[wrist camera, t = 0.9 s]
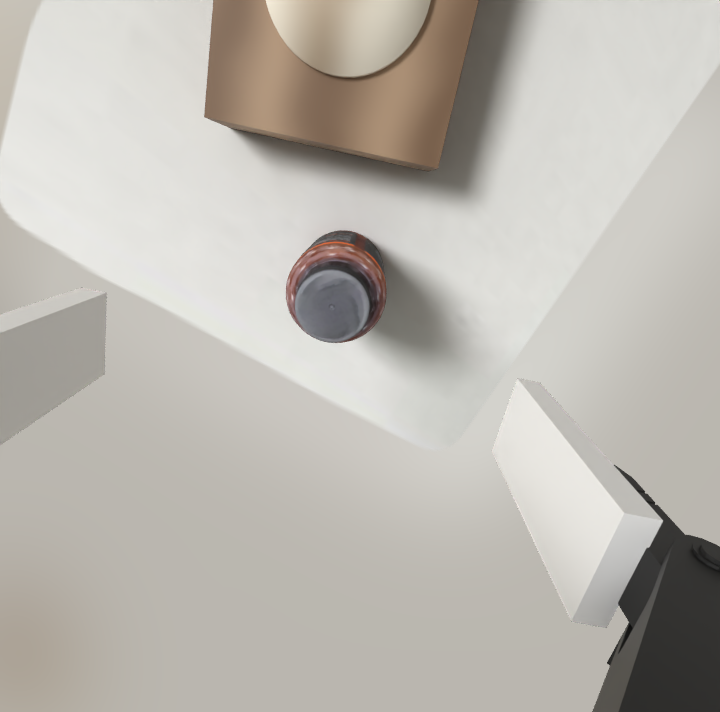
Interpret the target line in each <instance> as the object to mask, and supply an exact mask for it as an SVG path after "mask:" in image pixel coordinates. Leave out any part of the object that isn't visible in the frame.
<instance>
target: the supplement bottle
mask: <svg viewBox="0 0 720 712" xmlns="http://www.w3.org/2000/svg"><path fill="white" fill-rule="evenodd" d="M286 300H287V306H288V308H289V311H290V314H291V315H292V318H293V319H294V320H295V322H296V323H297V324H298V325H299V327H300V328H301V329H302V330H303V331H304V332H306V333H307V334H308V335H310V336H312V337H313V338H316V339H318V340H321V341H324V342H330V343H343V342H348V341H352V340H355V339H357V338H359V337H361V336H363V335H364V334H366V333H367V332H368V331H370V330H371V329H372V328H373V327H374V326H375V324H376V323H377V322H378V320H379V319H380V317H381V315H382V312H383V310H384V307H385V302H386V281H385V274H384V267H383V262H382V259H381V256H380V254H379V252H378V250H377V249H376V247H375V246H374V245H373V244H372V243H371V242H370V241H369V240H368V239H367V238H365V237H364V236H362V235H360V234H358V233H356V232H352V231H334V232H331V233H328V234H326V235H324V236H322V237H320V238H319V239H317V240H316V241H315V242H314V243H313V244H312V245H311V246H310V247H309V248H308V249H307V250H306V252H305V253H303V254H302V256H301V257H300V258H299V259H298V261H297V262H296V263H295V265H294V266H293V268H292V270H291V272H290V274H289V277H288V280H287V285H286Z"/></svg>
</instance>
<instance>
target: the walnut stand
mask: <svg viewBox="0 0 720 712" xmlns="http://www.w3.org/2000/svg"><path fill="white" fill-rule="evenodd" d="M478 1H479V0H213V13H212V25H211V38H210V51H209V64H208V77H207V89H206V102H205V115H204V117H205V118H208V119H210V120H213V121H215V122H217V123H220V124H222V125H224V126H227V127H229V128H233V129H238V130H242V131H247V132H251V133H256V134H261V135H265V136H270V137H274V138H279V139H283V140H288V141H292V142H297V143H301V144H306V145H311V146H315V147H320V148H324V149H329V150H333V151H338V152H342V153H347V154H351V155H356V156H361V157H365V158H370V159H374V160H379V161H383V162H388V163H392V164H397V165H402V166H406V167H411V168H415V169H420V170H424V171H431V170H435V169H438V166H439V162H440V158H441V153H442V149H443V145H444V141H445V137H446V133H447V129H448V125H449V120H450V116H451V112H452V108H453V104H454V100H455V96H456V92H457V88H458V83H459V79H460V75H461V71H462V67H463V63H464V59H465V55H466V50H467V46H468V42H469V38H470V34H471V30H472V26H473V22H474V18H475V13H476V9H477V5H478Z"/></svg>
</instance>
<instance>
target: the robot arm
mask: <svg viewBox="0 0 720 712" xmlns="http://www.w3.org/2000/svg"><path fill="white" fill-rule="evenodd" d="M106 295H107V293H106V292H101V291H96V290H92V289H87V288H82V287H81V288H78V289H76V290H72V291H69V292H66V293H63V294H60V295H57V296H54V297H51V298H48V299H45V300H42V301H39V302H35V303H33V304H29V305H27V306H23V307H20V308H17V309H14V310H11V311H8V312H5V313H2V314H0V445H1V444H3V443H4V442H5V441H7V440H8V439H10V438H11V437H13V436H14V435H16V434H17V433H19V432H20V431H21V430H23V429H25V428H26V427H28V426H29V425H31V424H32V423H33V422H35V421H36V420H38V419H39V418H41V417H42V416H44V415H45V414H47V413H48V412H50V411H51V410H53V409H54V408H55V407H57V406H58V405H60V404H61V403H63V402H64V401H66V400H67V399H69V398H70V397H72V396H73V395H75V394H76V393H77V392H79V391H80V390H82V389H83V388H85V387H86V386H88V385H89V384H91V383H92V382H93V381H95V380H97V379H98V378H99V377H101V376H102V375H104V371H105V335H106V298H107V296H106ZM492 453H493V456H494V458H495V460H496V462H497V464H498V466H499V469H500V470H501V473H502V475H503V477H504V479H505V481H506V483H507V486H508V488H509V490H510V492H511V494H512V496H513V498H514V501H515V503H516V505H517V507H518V509H519V511H520V513H521V516H522V518H523V520H524V522H525V524H526V526H527V528H528V530H529V533H530V535H531V537H532V539H533V541H534V543H535V545H536V547H537V550H538V552H539V554H540V556H541V558H542V560H543V563H544V564H545V567H546V569H547V571H548V573H549V575H550V577H551V580H552V582H553V584H554V586H555V588H556V590H557V592H558V595H559V597H560V599H561V601H562V603H563V605H564V607H565V610H566V612H567V614H568V616H569V618H570V620H571V622H576V623H581V624H587V625H593V626H598V627H604V628H607V626H608V625H609V622H610V621H611V619H612V617H613V615H614V613H615V611H616V609H617V607H618V606H620V608H621V609H622V611H623V613H624V615H625V616H626V618H627V619H628V621H629V624H628V625H627V627H626V629H625V631H624V633H623V635H622V637H621V638H620V640H619V642H618V644H617V646H616V647H615V649H614V651H613V653H612V655H611V657H610V658H609V660H608V662H607V664H609V665H610V668H609V670H608V673H607V676H606V678H605V681H604V683H603V686H602V688H601V691H600V693H599V696H598V699H597V701H596V704H595V706H594V709H593V712H720V547H719V546H717V545H716V544H713V543H711V542H709V541H706V540H704V539H702V538H698V537H694V536H690V535H685V534H684V533H683V532H682V531H681V530H680V529H679V528H678V527H677V526H676V525H675V523H674V522H673V521H672V520H671V519H670V518H669V517H668V516H667V515H666V514H665V513H664V512H663V510H662V509H661V508H660V507H659V506H658V505H655V502H654V501H653V500H652V499H651V497H650V496H649V495H648V494H645V491H644V490H643V489H642V488H641V486H640V485H639V484H638V483H637V482H636V481H635V480H634V479H633V478H632V477H631V476H629V475H628V474H627V473H625V472H624V471H622V470H621V469H620V468H618V467H617V466H615V465H613V464H612V463H611V462H610V461H609V459H608V458H607V457H606V456H605V455H604V454H603V453H602V452H601V450H600V449H599V448H598V447H597V446H596V445H595V444H594V443H593V442H592V440H591V439H590V438H589V437H588V436H587V435H586V434H585V433H584V431H583V430H582V429H581V428H580V427H579V426H578V425H577V424H576V422H575V421H574V420H573V419H572V418H571V417H570V416H569V415H568V413H567V412H566V411H565V410H564V409H563V408H562V407H561V406H560V405H559V403H558V402H557V401H556V400H555V399H554V398H553V397H552V396H551V394H550V393H549V392H548V391H547V390H546V389H545V388H544V387H543V386H542V384H541V383H538V382H534V381H529V380H524V379H519V378H517V380H516V383H515V386H514V389H513V392H512V395H511V397H510V400H509V403H508V406H507V409H506V412H505V414H504V417H503V420H502V423H501V426H500V429H499V431H498V434H497V437H496V440H495V443H494V445H493V449H492Z"/></svg>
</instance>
